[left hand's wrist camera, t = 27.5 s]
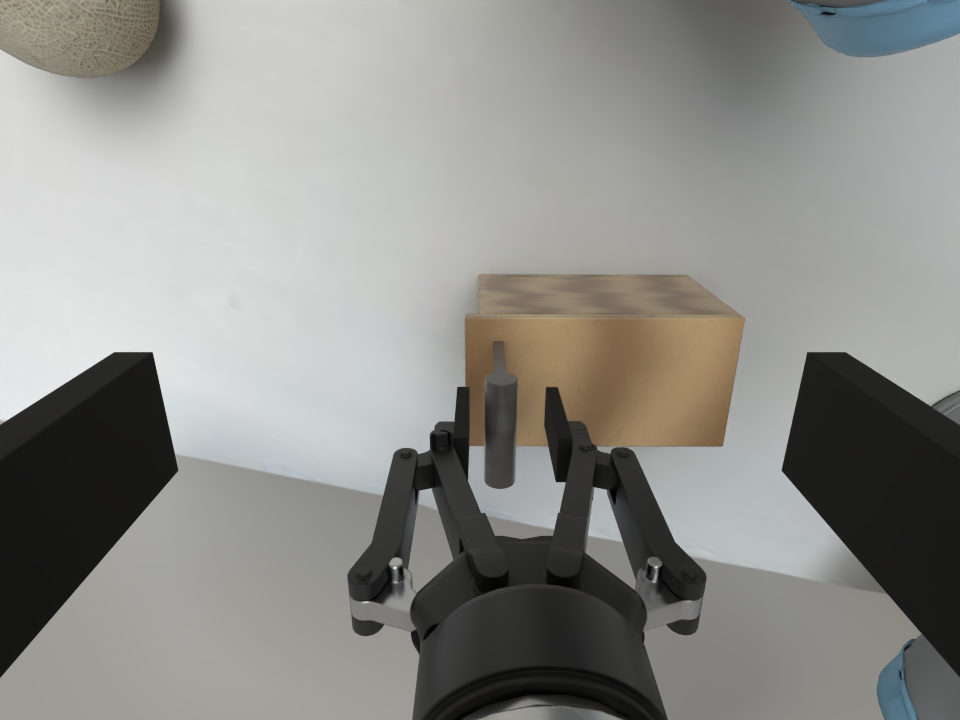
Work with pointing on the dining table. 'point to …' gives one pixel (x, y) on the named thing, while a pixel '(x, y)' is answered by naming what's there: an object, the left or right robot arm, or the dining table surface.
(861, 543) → the left robot arm
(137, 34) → the fruit
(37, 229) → the dining table surface
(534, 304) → the brown hollow rectangular box
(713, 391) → the lid
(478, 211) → the dining table surface
